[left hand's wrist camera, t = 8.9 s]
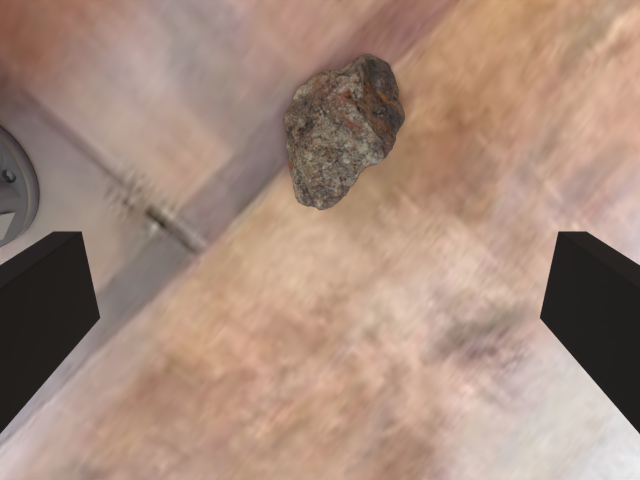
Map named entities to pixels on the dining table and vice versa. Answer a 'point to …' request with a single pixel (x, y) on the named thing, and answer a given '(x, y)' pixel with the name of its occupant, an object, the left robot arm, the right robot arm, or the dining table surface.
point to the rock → (340, 129)
